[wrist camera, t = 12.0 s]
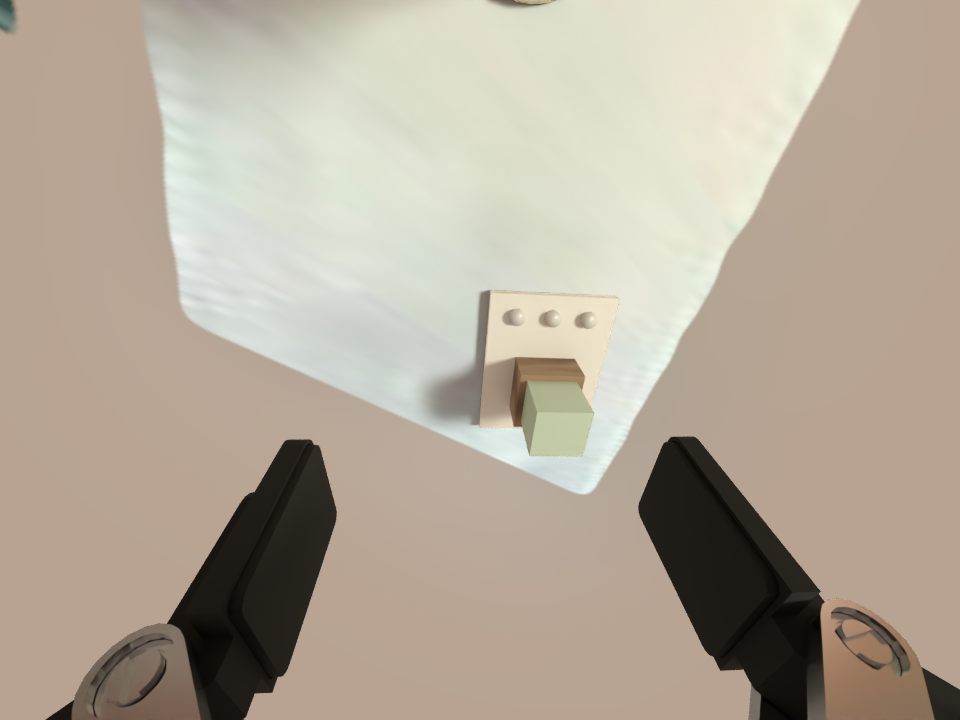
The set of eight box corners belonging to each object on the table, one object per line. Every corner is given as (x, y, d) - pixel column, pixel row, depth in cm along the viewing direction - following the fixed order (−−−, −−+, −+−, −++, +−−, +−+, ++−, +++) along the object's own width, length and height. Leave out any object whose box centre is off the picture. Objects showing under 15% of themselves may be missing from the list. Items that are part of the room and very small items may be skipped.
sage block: (527, 380, 38) (537, 412, 34) (577, 382, 39) (594, 413, 34) (521, 421, 41) (529, 455, 36) (567, 422, 42) (582, 456, 37)
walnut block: (515, 356, 42) (521, 375, 38) (574, 358, 42) (585, 376, 39) (509, 406, 45) (513, 426, 41) (564, 407, 45) (573, 427, 42)
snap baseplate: (490, 290, 39) (491, 294, 37) (616, 295, 40) (622, 300, 38) (479, 422, 47) (479, 430, 46) (582, 424, 48) (586, 432, 47)
